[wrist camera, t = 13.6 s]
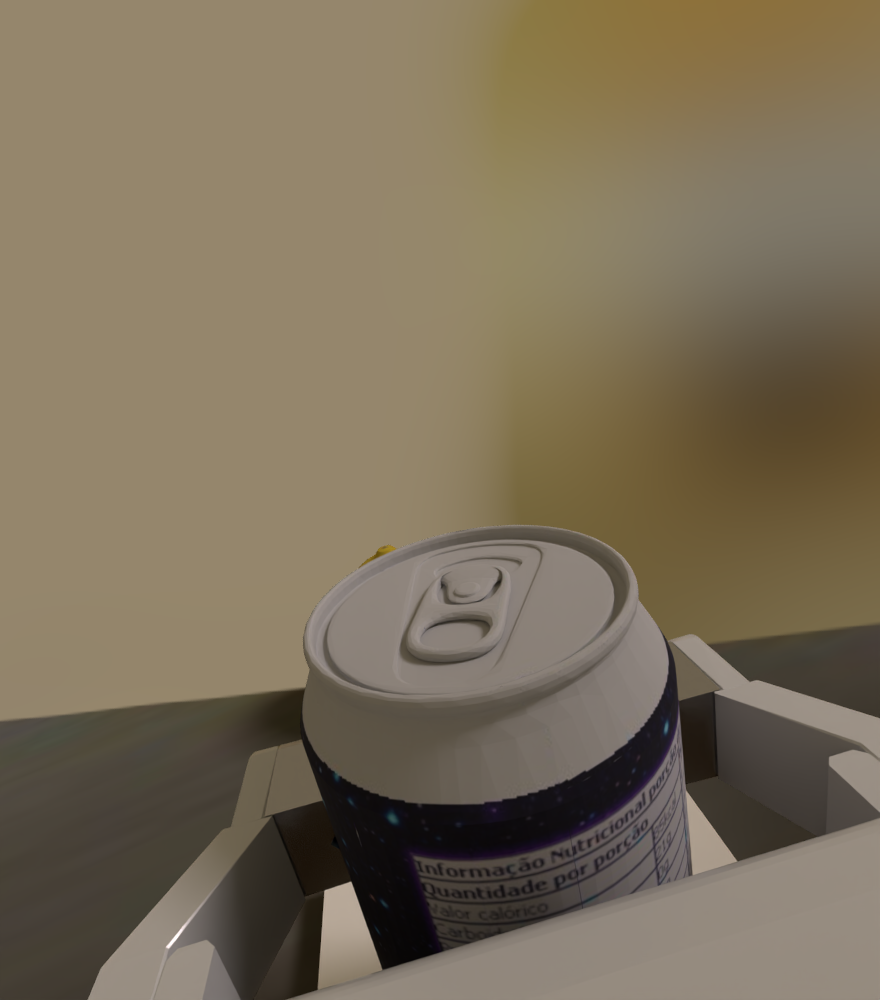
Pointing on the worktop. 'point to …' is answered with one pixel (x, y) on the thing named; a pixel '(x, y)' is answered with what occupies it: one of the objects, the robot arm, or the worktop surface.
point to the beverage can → (493, 735)
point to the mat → (351, 943)
